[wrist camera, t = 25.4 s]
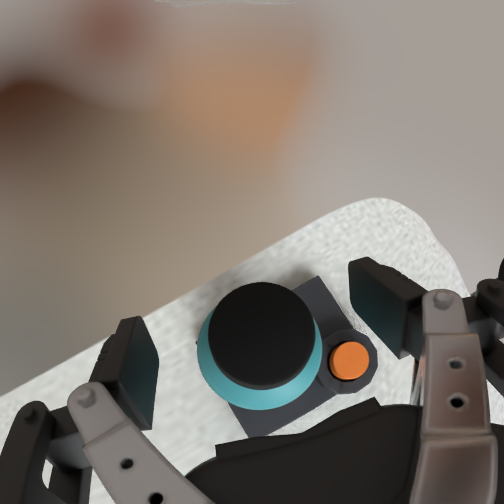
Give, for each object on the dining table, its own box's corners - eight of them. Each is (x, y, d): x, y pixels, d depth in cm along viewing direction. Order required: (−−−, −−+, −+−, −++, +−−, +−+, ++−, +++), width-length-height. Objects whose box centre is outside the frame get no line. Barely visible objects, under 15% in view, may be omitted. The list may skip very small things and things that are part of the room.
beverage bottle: (211, 368, 28) (130, 332, 10) (257, 322, 30) (256, 215, 12) (259, 412, 26) (262, 464, 8) (304, 364, 28) (386, 322, 10)
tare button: (351, 337, 28) (356, 334, 26) (369, 366, 26) (375, 364, 25) (322, 356, 27) (326, 354, 25) (340, 386, 26) (345, 386, 24)
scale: (317, 279, 34) (323, 268, 31) (375, 371, 29) (388, 368, 26) (198, 344, 31) (191, 339, 28) (255, 445, 26) (255, 452, 23)
